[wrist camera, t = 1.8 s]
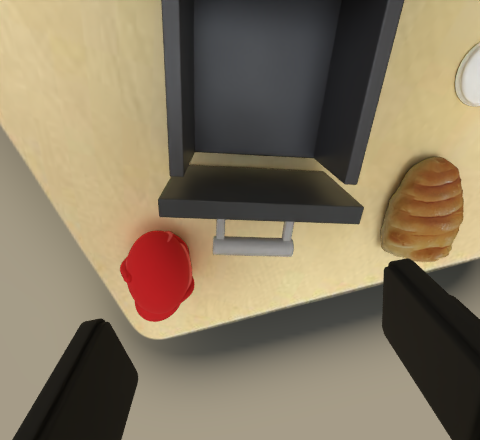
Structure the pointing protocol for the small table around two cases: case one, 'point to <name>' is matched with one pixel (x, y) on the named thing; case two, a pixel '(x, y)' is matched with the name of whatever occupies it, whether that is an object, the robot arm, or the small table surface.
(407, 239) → the pastry
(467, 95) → the chess piece
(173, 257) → the red rounded lump
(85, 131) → the small table surface
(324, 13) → the drawer
